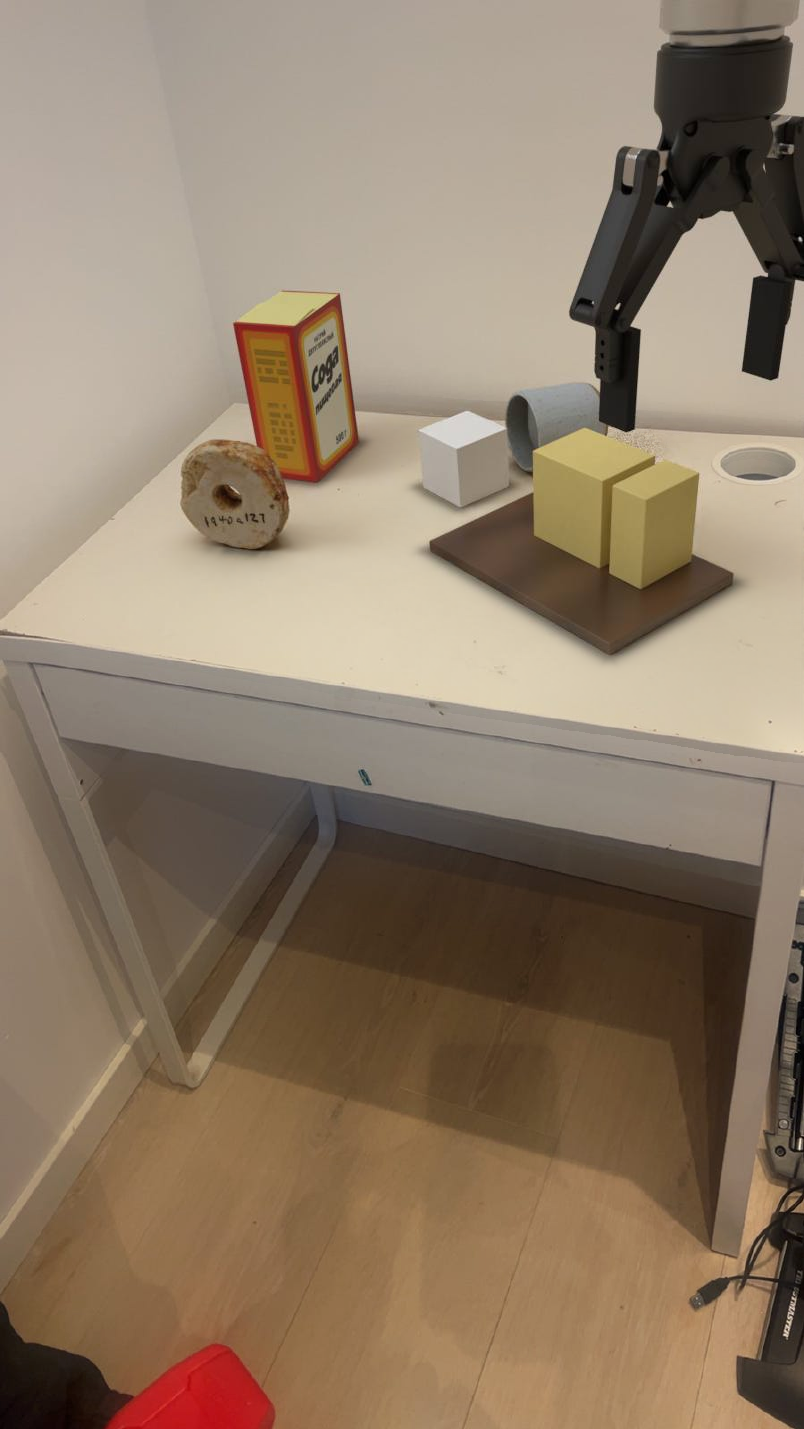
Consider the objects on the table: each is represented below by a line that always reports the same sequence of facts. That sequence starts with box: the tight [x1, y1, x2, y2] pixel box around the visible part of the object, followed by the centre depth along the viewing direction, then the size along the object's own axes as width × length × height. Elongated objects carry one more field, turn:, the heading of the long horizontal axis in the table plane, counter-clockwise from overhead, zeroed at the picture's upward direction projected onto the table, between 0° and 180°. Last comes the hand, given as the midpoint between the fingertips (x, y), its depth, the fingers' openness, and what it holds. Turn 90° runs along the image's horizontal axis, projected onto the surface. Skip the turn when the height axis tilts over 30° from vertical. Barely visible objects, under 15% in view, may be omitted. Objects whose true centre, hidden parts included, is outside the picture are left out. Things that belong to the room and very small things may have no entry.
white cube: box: [417, 410, 510, 509], centre depth 99 cm, size 6×6×6 cm
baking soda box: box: [232, 289, 360, 483], centre depth 104 cm, size 10×6×16 cm
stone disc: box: [179, 438, 291, 550], centre depth 94 cm, size 10×4×10 cm, turn 69°
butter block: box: [532, 428, 656, 569], centre depth 87 cm, size 8×6×8 cm
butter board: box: [429, 492, 735, 655], centre depth 88 cm, size 22×14×1 cm, turn 37°
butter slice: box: [609, 459, 700, 589], centre depth 83 cm, size 4×6×8 cm, turn 127°
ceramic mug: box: [504, 381, 609, 473], centre depth 103 cm, size 11×8×8 cm
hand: (690, 399), depth 72 cm, fingers open, 13 cm apart
